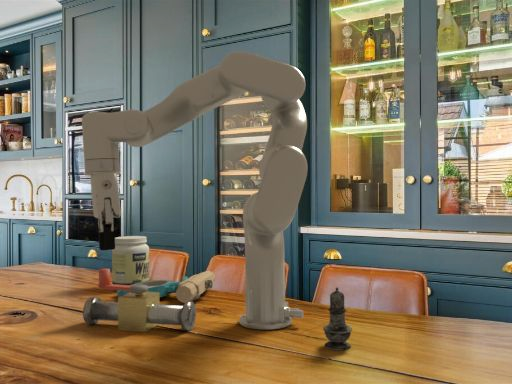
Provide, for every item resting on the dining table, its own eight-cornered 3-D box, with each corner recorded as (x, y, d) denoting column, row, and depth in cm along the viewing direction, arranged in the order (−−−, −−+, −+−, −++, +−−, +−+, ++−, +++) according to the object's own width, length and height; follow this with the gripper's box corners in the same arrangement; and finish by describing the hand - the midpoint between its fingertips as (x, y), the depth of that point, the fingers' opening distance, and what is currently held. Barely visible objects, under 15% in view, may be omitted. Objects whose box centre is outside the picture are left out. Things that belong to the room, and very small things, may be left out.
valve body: (196, 325, 108) (196, 291, 108) (185, 334, 102) (184, 298, 102) (99, 319, 115) (98, 287, 115) (82, 327, 108) (81, 293, 108)
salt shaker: (332, 339, 97) (331, 283, 97) (357, 345, 93) (356, 286, 93) (317, 346, 93) (316, 287, 93) (343, 353, 89) (342, 291, 89)
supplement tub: (137, 292, 145) (136, 239, 145) (104, 290, 149) (103, 238, 149) (156, 285, 157) (156, 235, 157) (126, 283, 160) (125, 235, 160)
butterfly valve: (97, 317, 128) (200, 308, 122) (95, 292, 128) (197, 282, 122) (138, 295, 154) (224, 287, 149) (136, 275, 154) (222, 266, 149)
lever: (151, 290, 109) (150, 270, 109) (141, 293, 106) (141, 273, 106) (105, 286, 114) (105, 267, 114) (94, 290, 110) (94, 270, 110)
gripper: (125, 165, 98) (130, 251, 98) (114, 169, 111) (118, 245, 111) (88, 166, 94) (93, 255, 95) (81, 170, 108) (86, 248, 108)
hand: (107, 249), depth 103 cm, fingers closed
